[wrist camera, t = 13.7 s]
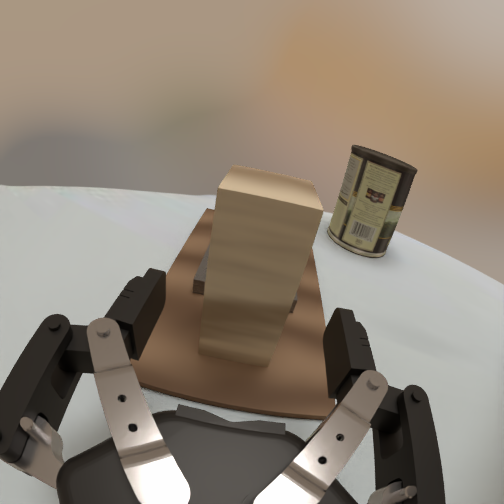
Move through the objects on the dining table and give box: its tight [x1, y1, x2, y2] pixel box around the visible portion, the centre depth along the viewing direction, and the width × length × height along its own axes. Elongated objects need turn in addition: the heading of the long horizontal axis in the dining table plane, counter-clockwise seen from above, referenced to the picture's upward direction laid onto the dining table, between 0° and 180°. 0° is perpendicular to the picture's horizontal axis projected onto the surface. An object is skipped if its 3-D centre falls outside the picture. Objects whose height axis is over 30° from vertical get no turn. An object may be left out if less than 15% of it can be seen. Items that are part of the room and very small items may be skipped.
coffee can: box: [327, 145, 417, 257], centre depth 39 cm, size 10×10×14 cm
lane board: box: [130, 208, 335, 420], centre depth 28 cm, size 28×15×2 cm, turn 175°
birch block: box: [198, 165, 324, 367], centre depth 18 cm, size 5×5×12 cm
